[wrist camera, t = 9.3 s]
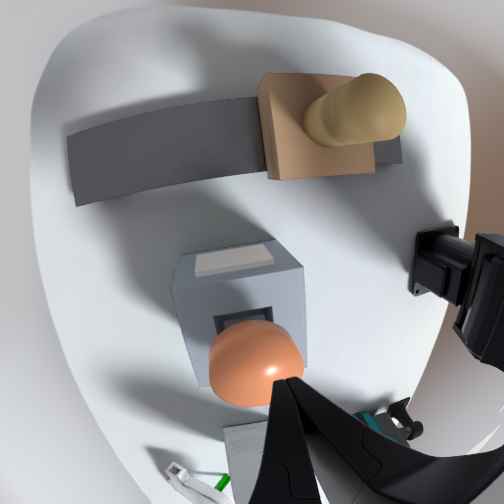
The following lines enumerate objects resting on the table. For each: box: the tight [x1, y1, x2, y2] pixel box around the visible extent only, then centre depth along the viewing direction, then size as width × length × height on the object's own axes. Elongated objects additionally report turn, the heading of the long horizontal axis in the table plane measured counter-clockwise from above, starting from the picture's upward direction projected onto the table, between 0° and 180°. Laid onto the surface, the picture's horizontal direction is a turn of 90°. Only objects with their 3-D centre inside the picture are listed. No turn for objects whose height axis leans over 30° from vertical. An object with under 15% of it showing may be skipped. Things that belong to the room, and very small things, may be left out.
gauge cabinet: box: [170, 240, 307, 387], centre depth 18 cm, size 7×7×6 cm
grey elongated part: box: [165, 462, 235, 504], centre depth 25 cm, size 15×8×11 cm
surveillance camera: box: [352, 397, 423, 448], centre depth 24 cm, size 6×12×10 cm
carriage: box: [257, 73, 406, 181], centre depth 12 cm, size 6×6×8 cm
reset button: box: [208, 314, 304, 407], centre depth 13 cm, size 4×4×4 cm
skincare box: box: [223, 421, 267, 504], centre depth 20 cm, size 6×4×12 cm
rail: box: [67, 97, 402, 207], centre depth 17 cm, size 24×5×2 cm, turn 97°
